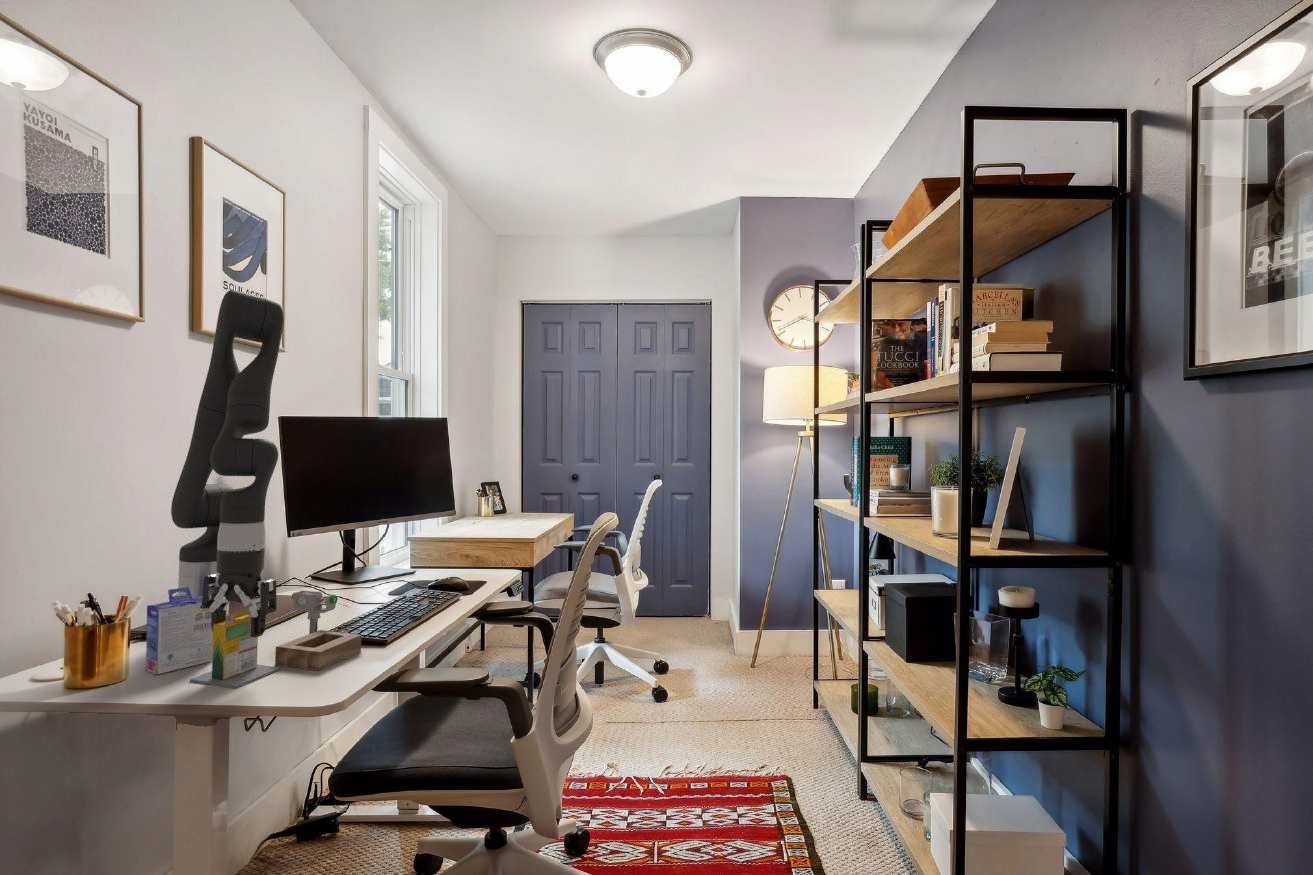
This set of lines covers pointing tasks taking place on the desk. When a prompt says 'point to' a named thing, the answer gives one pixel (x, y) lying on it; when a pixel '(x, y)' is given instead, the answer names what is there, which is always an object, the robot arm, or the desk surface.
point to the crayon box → (233, 646)
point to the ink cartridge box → (178, 633)
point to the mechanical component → (313, 605)
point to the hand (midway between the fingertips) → (237, 633)
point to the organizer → (318, 650)
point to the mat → (237, 677)
